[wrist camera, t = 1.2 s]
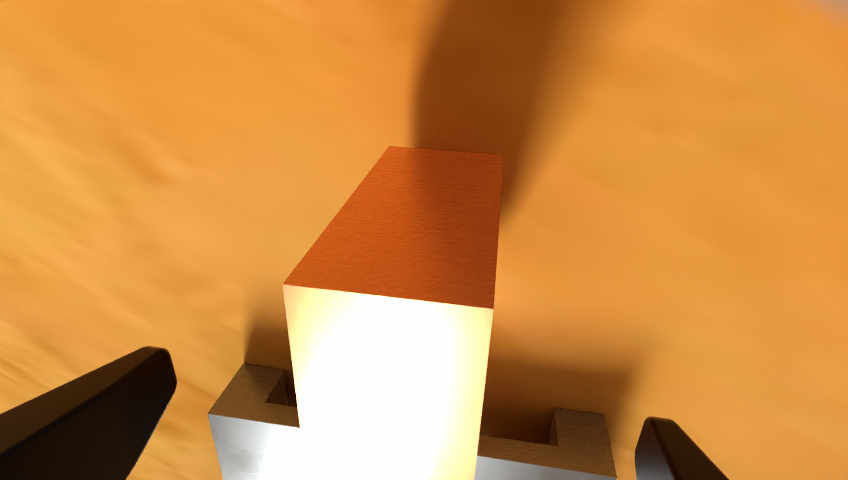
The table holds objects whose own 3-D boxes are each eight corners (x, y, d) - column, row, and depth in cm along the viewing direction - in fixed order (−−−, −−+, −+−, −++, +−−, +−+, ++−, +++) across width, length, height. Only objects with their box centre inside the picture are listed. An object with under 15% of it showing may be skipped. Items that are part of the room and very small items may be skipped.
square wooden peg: (504, 140, 16) (493, 309, 8) (492, 260, 18) (472, 494, 10) (399, 133, 17) (282, 284, 8) (398, 251, 19) (305, 466, 10)
